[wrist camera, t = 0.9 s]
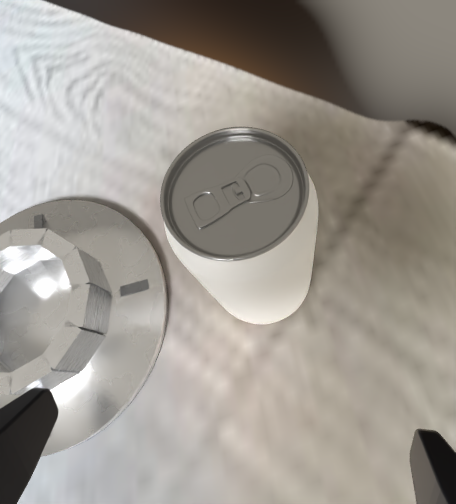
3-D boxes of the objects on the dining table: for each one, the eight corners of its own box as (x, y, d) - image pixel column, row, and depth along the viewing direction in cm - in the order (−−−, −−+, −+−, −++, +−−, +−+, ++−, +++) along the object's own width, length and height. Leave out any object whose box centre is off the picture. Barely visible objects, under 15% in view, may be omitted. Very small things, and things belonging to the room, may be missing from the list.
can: (329, 298, 23) (358, 220, 12) (238, 343, 23) (184, 304, 12) (282, 218, 26) (271, 92, 15) (200, 258, 26) (127, 162, 15)
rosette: (56, 522, 22) (9, 549, 18) (-107, 358, 27) (-166, 354, 24) (217, 269, 25) (203, 250, 22) (43, 171, 31) (10, 144, 28)
